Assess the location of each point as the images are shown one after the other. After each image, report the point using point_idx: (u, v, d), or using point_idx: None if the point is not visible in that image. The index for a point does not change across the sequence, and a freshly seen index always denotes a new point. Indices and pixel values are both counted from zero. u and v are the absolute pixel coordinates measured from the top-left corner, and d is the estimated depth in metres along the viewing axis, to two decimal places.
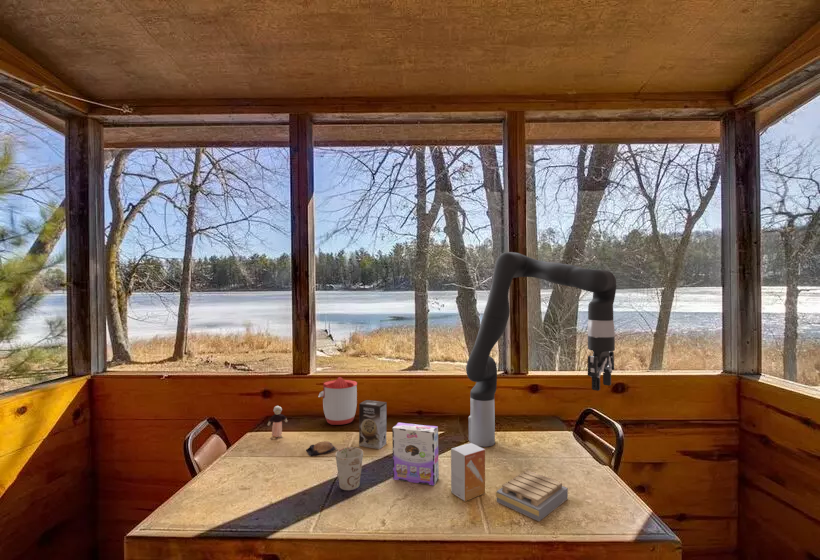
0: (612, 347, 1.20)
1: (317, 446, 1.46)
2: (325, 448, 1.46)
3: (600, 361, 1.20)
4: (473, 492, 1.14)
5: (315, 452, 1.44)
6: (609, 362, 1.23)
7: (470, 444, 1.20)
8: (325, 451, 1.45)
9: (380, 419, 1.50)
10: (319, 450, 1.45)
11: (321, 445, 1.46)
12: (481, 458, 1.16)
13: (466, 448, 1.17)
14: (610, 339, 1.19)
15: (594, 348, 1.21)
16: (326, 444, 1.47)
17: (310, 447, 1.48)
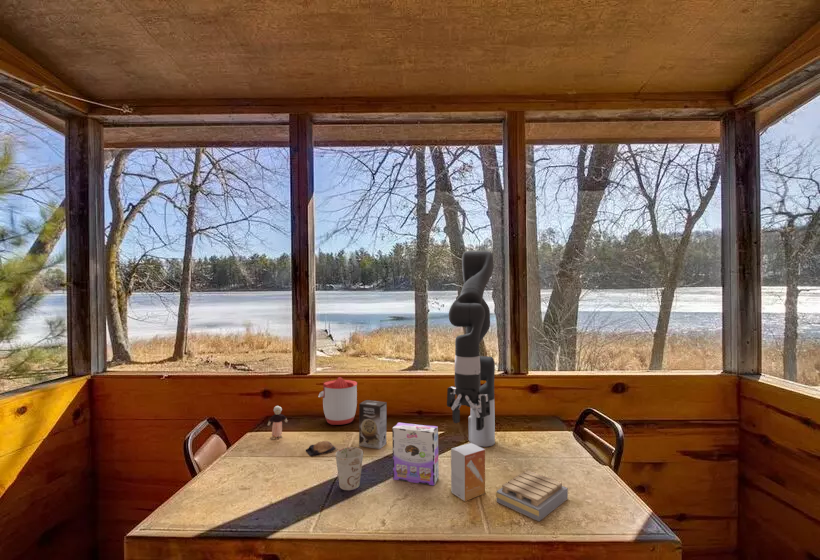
0: None
1: (317, 446, 1.46)
2: (325, 448, 1.46)
3: None
4: (473, 492, 1.14)
5: (316, 452, 1.44)
6: None
7: (470, 444, 1.20)
8: (325, 451, 1.46)
9: (380, 419, 1.50)
10: (319, 450, 1.45)
11: (321, 445, 1.47)
12: (481, 458, 1.16)
13: (466, 448, 1.17)
14: None
15: (476, 386, 1.14)
16: (326, 444, 1.48)
17: (310, 447, 1.48)
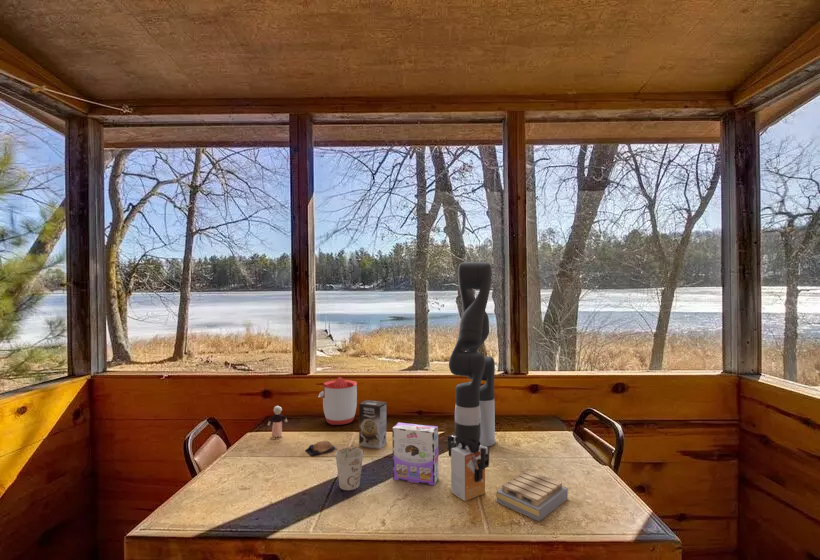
0: None
1: (317, 446, 1.47)
2: (325, 448, 1.46)
3: None
4: (473, 492, 1.14)
5: (316, 452, 1.44)
6: None
7: None
8: (326, 450, 1.46)
9: (380, 419, 1.50)
10: (320, 450, 1.45)
11: (321, 444, 1.47)
12: None
13: None
14: None
15: (476, 437, 1.14)
16: (326, 443, 1.48)
17: (309, 447, 1.48)
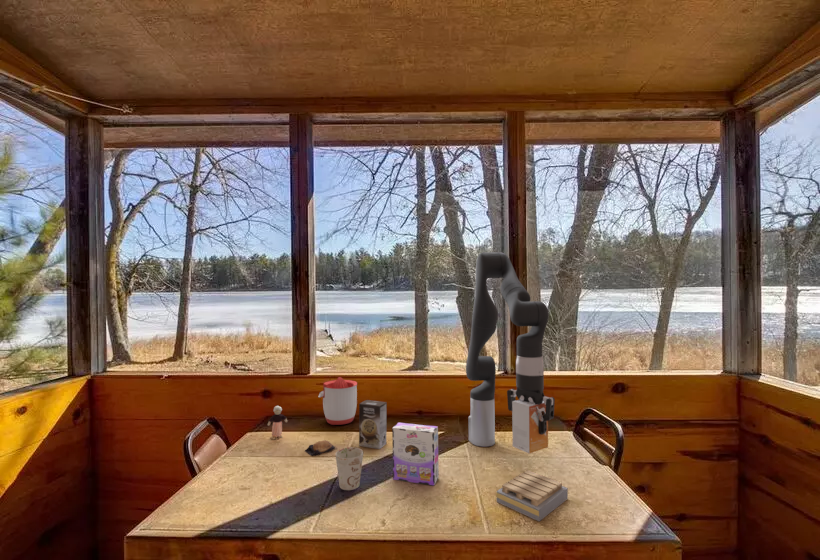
0: None
1: (317, 445, 1.47)
2: (325, 447, 1.47)
3: None
4: (537, 445, 1.10)
5: (317, 451, 1.44)
6: None
7: None
8: (326, 450, 1.46)
9: (380, 419, 1.50)
10: (320, 449, 1.46)
11: (321, 444, 1.47)
12: None
13: None
14: None
15: (540, 387, 1.10)
16: (326, 443, 1.48)
17: (309, 447, 1.48)
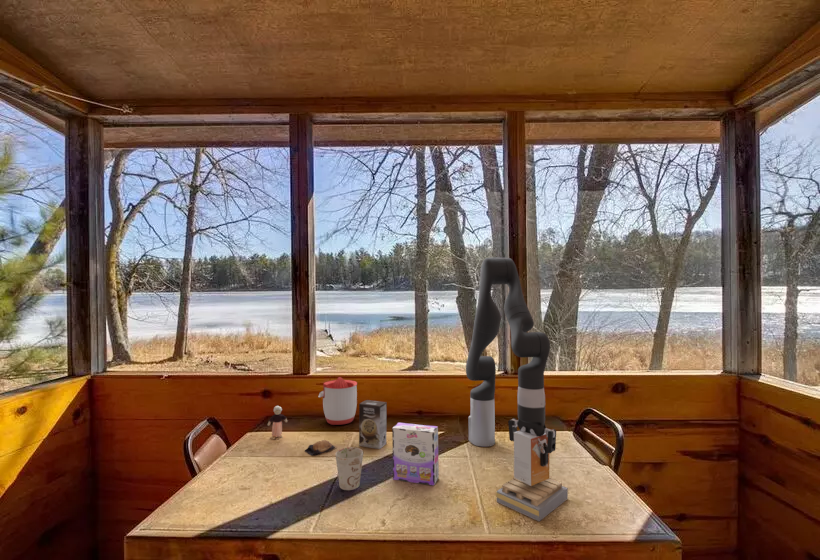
0: None
1: (317, 445, 1.47)
2: (325, 447, 1.47)
3: None
4: (539, 477, 1.10)
5: (317, 451, 1.44)
6: None
7: None
8: (326, 449, 1.47)
9: (380, 419, 1.50)
10: (320, 449, 1.46)
11: (321, 444, 1.47)
12: (546, 442, 1.12)
13: None
14: None
15: (542, 419, 1.10)
16: (326, 443, 1.49)
17: (309, 447, 1.48)
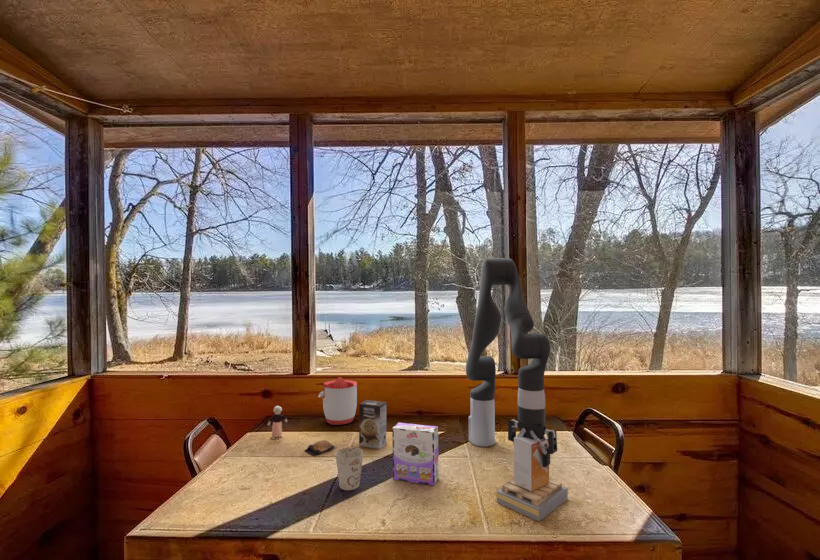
0: None
1: (317, 445, 1.47)
2: (325, 447, 1.47)
3: None
4: (539, 482, 1.10)
5: (317, 451, 1.44)
6: None
7: None
8: (326, 449, 1.47)
9: (380, 419, 1.50)
10: (320, 449, 1.46)
11: (321, 444, 1.47)
12: None
13: None
14: None
15: (542, 421, 1.10)
16: (326, 442, 1.49)
17: (309, 447, 1.48)
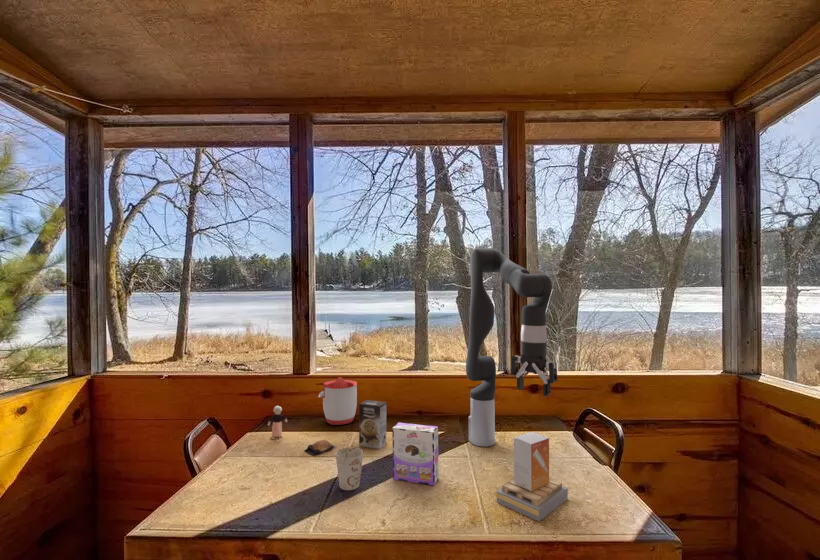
0: None
1: (317, 445, 1.47)
2: (325, 446, 1.47)
3: None
4: (539, 482, 1.10)
5: (317, 451, 1.45)
6: None
7: (532, 433, 1.16)
8: (326, 449, 1.47)
9: (380, 419, 1.50)
10: (320, 449, 1.46)
11: (321, 444, 1.48)
12: (546, 447, 1.12)
13: (529, 437, 1.14)
14: None
15: (543, 354, 1.18)
16: (325, 442, 1.49)
17: (309, 447, 1.48)
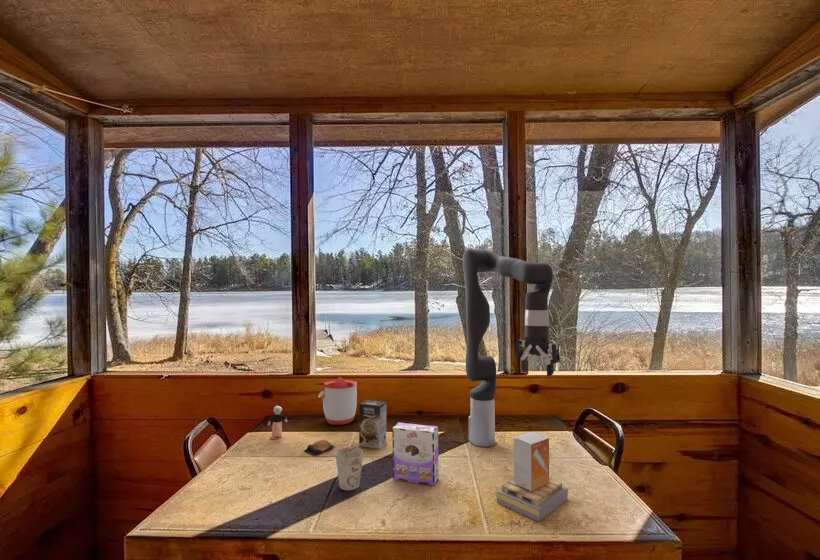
0: None
1: (317, 445, 1.47)
2: (325, 446, 1.48)
3: None
4: (539, 482, 1.10)
5: (318, 451, 1.45)
6: None
7: (532, 433, 1.16)
8: (326, 449, 1.47)
9: (380, 419, 1.50)
10: (321, 448, 1.46)
11: (321, 443, 1.48)
12: (546, 447, 1.12)
13: (529, 437, 1.14)
14: None
15: (546, 336, 1.26)
16: (325, 442, 1.49)
17: (308, 447, 1.48)
